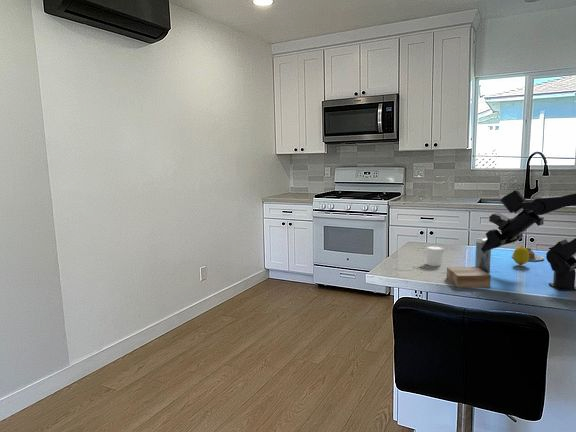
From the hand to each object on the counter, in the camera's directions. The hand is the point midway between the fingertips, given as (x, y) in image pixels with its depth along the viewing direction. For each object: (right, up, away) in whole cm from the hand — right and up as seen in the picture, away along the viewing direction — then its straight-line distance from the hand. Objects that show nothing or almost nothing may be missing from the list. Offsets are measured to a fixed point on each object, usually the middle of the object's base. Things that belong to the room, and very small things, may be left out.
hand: (487, 248), depth 160 cm
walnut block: (-12, -11, -11) cm, 20 cm away
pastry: (+27, -6, +20) cm, 34 cm away
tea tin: (-1, -9, +3) cm, 9 cm away
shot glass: (-15, -8, +14) cm, 22 cm away
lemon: (+17, -8, +9) cm, 21 cm away
